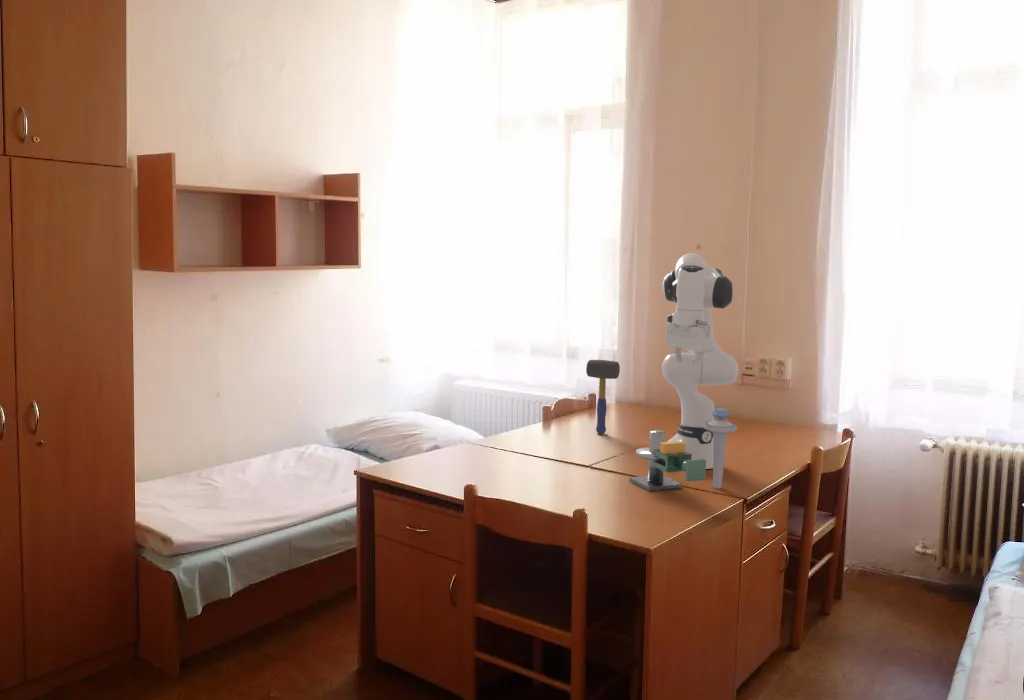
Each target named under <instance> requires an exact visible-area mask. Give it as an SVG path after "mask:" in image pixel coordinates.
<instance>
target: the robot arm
mask: <svg viewBox="0 0 1024 700" xmlns="http://www.w3.org/2000/svg"><path fill="white" fill-rule="evenodd" d="M661 285H662V286H661V289H662V293H663V295H664V298H665V299H666V300H667V301H668V302H672V303H676V306H675V309H674V310H675V312H673V313H671V314H669V315H666V317H665V321H666V323H667V325H666V329H665V342H666V345H667V346H668V347H672V348H673V352H674V353H671V354H667V356H666V357H665V358H664V359H663V361H662V363H661V373H662V376H663V378H664V379H665V381H666V382H668V383H669V384H670V385H671V386H672V387H673V388H674V390H675V391H676V392H677V395H678V396H679V400H680V406H681V407H680V408H681V409H680V410H681V411H680V412H681V414H680V415H681V419H680V420H681V421H680V423H677V424H676V425H677V426H676V428H678V429H677V433H676V434H675V435H673V436H672V437H671V438H670V439H668V440H667V441H666V442H673V441H683V442H685V443H686V447H685V452H687V453H690V454H692V458H691V460H698V459H705V460H706V470H708V469H709V470H710V469H713V432H711V431H710V430H707V429H705V428H704V423H705V422H709V421H713V420H715V418H714V416H713V415H712V412H713V411H714V410H715V409H716V408H715V403H714V401H713V400H712V399H710V397H708V396H707V395H705V394H702V393H701V392H699V391H698V386H713V387H714V386H716V387H717V386H718V387H720V386H725V385H732V384H733V383H734V382H735V381H736V380H737V379H738V375H739V365H738V362H737V360H736V359H735V358H734V356H732V355H731V354H728V353H727V352H725V351H724V350H723V349H722V348H721V347H720V345H719V344H718V343H717V341H716V338H715V337H716V336H715V333H714V332H715V331H714V323H713V316H712V311H711V308H714V309H725V308H727V307H728V306H729V305H731V304H732V301H733V298H734V286H733V282H732V280H730V279H729V278H728V276H724V274H723V272H722V270H720V269H718V268H715V267H713V266H711V265H709V264H707V262H706V260H705V259H704V258H703V256H701V255H699V254H698V253H695V252H688V253H686V254H684V255H682V256H681V257H680V258H679V259H678V260H677V261H676V264H675V268H674V269H672V270H671V272H669V273H667V274H666V275H665V276H664V278H663V281H662V283H661ZM682 349H683V350H686V351H688V352H682V351H683V350H682Z"/></svg>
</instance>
